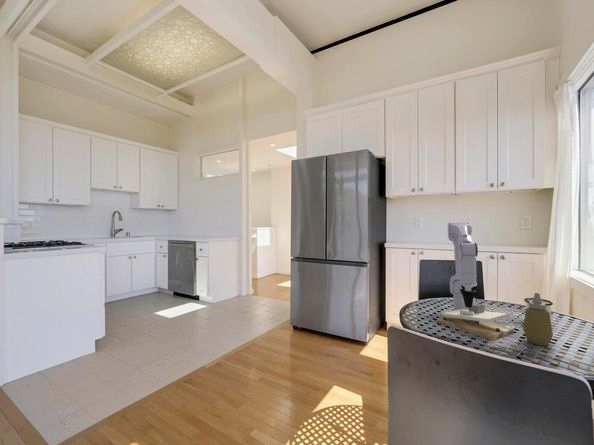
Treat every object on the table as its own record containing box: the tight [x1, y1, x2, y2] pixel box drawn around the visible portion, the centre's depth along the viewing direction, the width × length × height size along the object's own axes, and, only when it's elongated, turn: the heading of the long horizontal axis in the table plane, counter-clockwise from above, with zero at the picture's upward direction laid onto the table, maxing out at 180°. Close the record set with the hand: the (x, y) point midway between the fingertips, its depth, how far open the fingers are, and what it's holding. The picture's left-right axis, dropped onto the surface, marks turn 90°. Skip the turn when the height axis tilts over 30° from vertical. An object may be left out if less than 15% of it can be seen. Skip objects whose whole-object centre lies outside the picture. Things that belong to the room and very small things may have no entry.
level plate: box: [440, 303, 510, 323], centre depth 116 cm, size 13×20×4 cm, turn 26°
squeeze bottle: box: [522, 292, 554, 347], centre depth 100 cm, size 8×8×18 cm
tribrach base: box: [437, 316, 514, 341], centre depth 116 cm, size 15×22×4 cm
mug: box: [523, 297, 554, 320], centre depth 120 cm, size 12×10×9 cm
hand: (468, 304), depth 115 cm, fingers open, 7 cm apart
